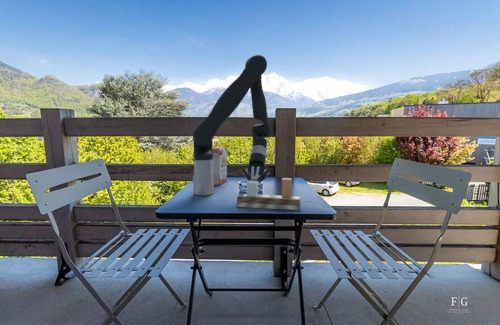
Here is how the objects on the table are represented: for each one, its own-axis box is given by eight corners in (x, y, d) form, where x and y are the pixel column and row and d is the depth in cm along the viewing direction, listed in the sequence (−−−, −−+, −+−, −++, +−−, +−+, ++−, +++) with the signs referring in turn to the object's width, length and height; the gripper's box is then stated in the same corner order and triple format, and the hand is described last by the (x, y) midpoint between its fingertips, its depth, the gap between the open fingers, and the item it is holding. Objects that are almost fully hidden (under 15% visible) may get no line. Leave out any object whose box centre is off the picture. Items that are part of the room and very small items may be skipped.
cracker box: (220, 185, 152) (219, 148, 149) (210, 185, 153) (209, 148, 150) (227, 180, 165) (227, 146, 162) (218, 180, 167) (217, 146, 164)
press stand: (236, 206, 115) (236, 197, 114) (244, 196, 129) (244, 188, 129) (299, 210, 110) (299, 200, 109) (300, 199, 124) (300, 191, 124)
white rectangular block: (246, 200, 116) (246, 182, 115) (248, 198, 120) (248, 180, 119) (256, 201, 115) (256, 182, 114) (257, 198, 119) (257, 180, 118)
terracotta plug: (281, 197, 121) (281, 179, 120) (282, 194, 125) (282, 177, 124) (290, 197, 120) (291, 180, 119) (291, 195, 124) (291, 178, 123)
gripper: (243, 151, 128) (237, 183, 118) (271, 152, 125) (267, 184, 115) (245, 161, 134) (240, 192, 124) (272, 161, 131) (269, 193, 121)
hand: (253, 188), depth 119 cm, fingers closed
